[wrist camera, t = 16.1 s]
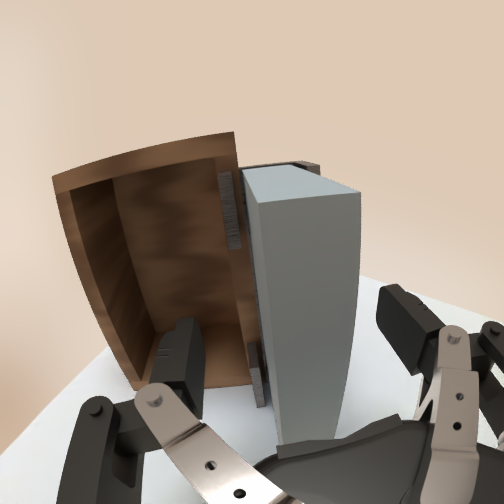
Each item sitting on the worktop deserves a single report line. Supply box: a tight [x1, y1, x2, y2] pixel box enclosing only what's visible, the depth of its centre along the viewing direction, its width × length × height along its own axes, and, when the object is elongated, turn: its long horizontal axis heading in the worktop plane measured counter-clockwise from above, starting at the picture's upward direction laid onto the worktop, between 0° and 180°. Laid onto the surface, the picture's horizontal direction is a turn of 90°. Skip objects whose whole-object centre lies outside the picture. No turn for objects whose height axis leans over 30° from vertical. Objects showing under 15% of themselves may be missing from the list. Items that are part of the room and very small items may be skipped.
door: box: [242, 165, 361, 445], centre depth 13 cm, size 2×8×16 cm, turn 4°
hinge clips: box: [218, 161, 320, 408], centre depth 16 cm, size 5×3×16 cm
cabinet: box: [52, 132, 267, 390], centre depth 20 cm, size 11×8×18 cm
